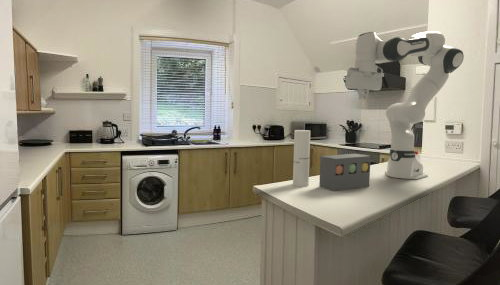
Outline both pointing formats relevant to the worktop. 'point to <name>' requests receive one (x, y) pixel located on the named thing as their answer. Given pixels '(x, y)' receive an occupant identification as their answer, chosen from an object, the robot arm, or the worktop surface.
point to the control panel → (343, 172)
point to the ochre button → (364, 167)
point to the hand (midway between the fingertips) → (362, 99)
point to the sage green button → (352, 168)
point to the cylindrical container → (301, 158)
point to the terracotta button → (339, 169)
